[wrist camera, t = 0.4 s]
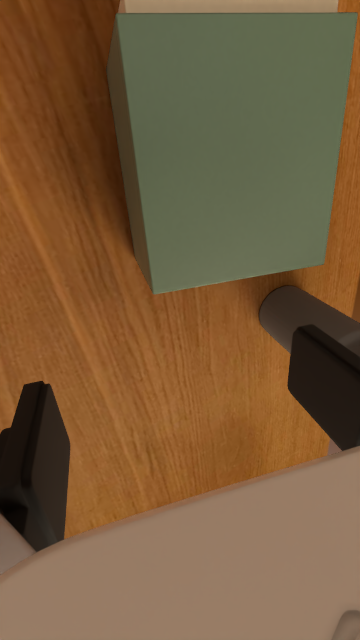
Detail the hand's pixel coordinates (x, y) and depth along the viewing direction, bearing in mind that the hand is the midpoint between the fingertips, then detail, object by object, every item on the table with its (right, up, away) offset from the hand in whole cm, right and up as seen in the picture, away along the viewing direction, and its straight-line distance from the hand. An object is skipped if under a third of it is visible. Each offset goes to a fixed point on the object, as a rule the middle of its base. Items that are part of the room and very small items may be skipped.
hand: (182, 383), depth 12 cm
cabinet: (+1, +15, +14) cm, 21 cm away
